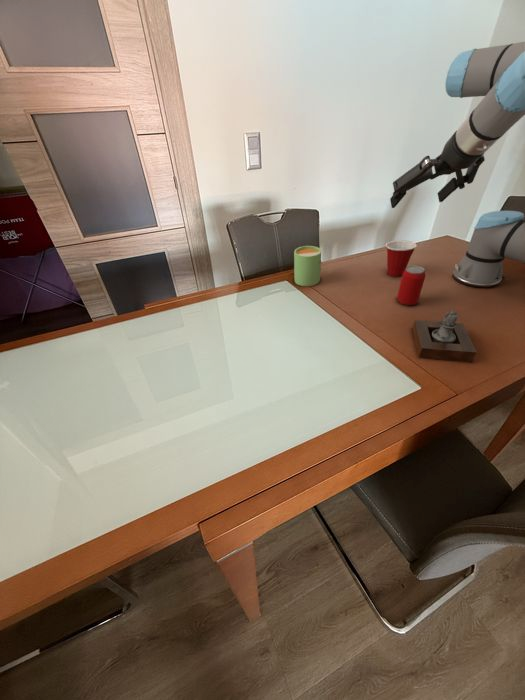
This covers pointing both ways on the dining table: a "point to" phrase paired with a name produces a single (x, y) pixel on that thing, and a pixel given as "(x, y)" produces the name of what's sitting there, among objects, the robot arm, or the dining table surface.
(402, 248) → the plastic cup
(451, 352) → the socket base
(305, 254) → the mug
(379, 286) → the dining table surface
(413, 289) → the beverage can
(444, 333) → the grey tall piece
